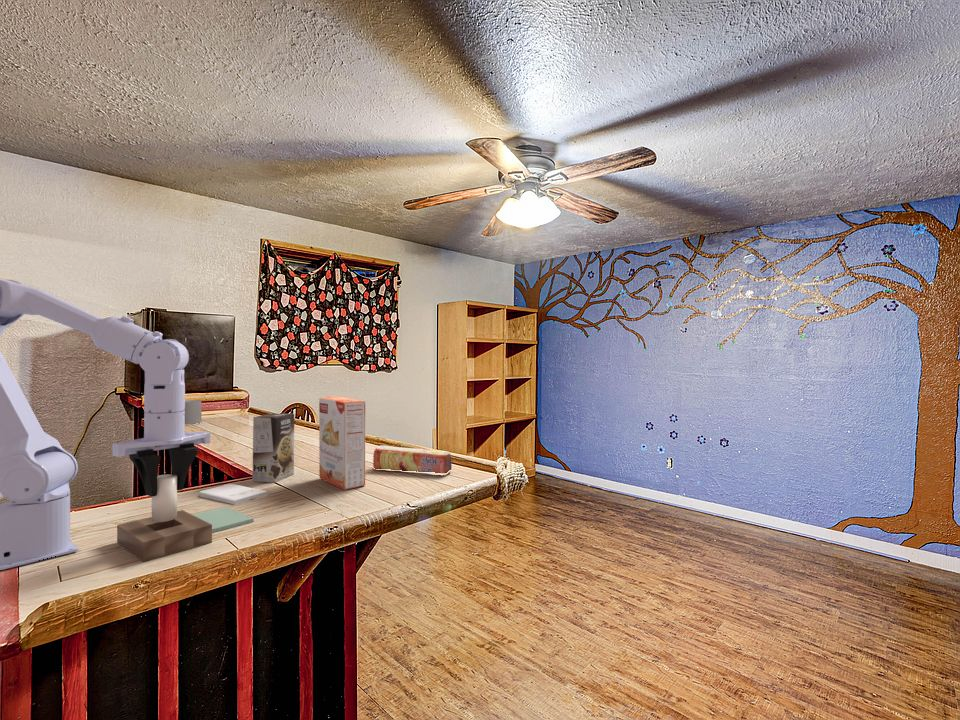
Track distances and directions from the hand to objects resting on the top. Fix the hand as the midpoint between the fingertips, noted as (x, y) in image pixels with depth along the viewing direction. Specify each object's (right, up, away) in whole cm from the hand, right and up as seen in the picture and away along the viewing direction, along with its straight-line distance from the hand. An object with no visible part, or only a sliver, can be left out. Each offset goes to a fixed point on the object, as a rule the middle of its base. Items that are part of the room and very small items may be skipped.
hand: (164, 492), depth 82 cm
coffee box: (0, -8, +43) cm, 44 cm away
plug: (0, -4, 0) cm, 4 cm away
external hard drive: (-2, -9, +27) cm, 29 cm away
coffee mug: (-76, -6, +132) cm, 152 cm away
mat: (+3, -8, +10) cm, 14 cm away
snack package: (+35, -9, +51) cm, 62 cm away
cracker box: (+19, -8, +39) cm, 44 cm away
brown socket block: (0, -9, 0) cm, 8 cm away
